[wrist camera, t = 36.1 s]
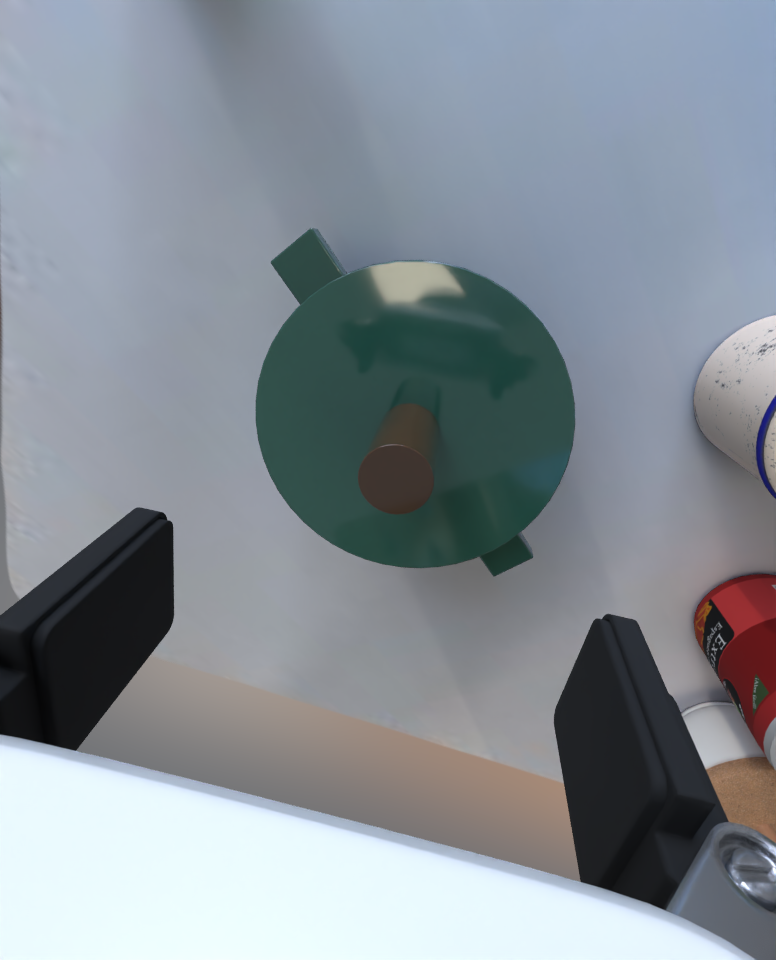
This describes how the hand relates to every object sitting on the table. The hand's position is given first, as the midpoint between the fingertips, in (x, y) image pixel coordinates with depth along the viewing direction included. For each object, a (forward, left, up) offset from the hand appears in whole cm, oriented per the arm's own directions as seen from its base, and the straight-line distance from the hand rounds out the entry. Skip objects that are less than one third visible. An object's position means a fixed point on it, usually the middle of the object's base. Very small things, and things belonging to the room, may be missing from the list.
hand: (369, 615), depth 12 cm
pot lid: (0, 0, -14) cm, 14 cm away
